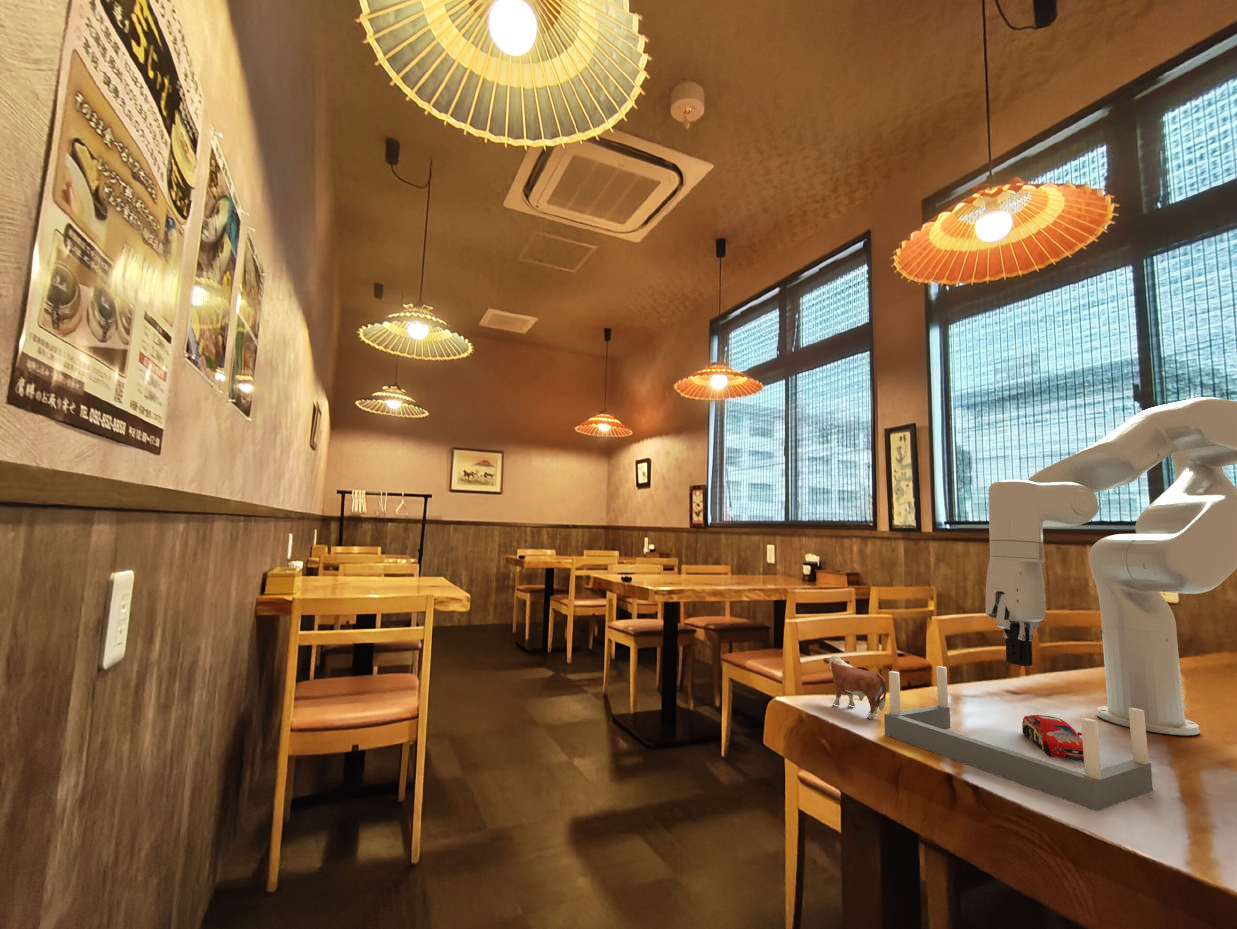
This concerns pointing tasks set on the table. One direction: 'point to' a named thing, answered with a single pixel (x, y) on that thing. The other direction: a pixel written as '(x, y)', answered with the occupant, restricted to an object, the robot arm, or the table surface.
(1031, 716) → the race car
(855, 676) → the bull figurine
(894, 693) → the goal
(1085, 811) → the table surface
